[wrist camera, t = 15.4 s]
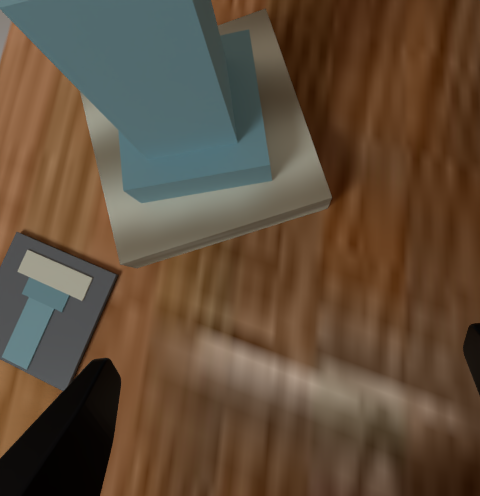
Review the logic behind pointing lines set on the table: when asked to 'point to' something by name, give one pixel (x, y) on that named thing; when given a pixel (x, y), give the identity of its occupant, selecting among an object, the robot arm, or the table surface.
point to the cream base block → (226, 200)
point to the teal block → (159, 88)
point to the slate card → (49, 309)
